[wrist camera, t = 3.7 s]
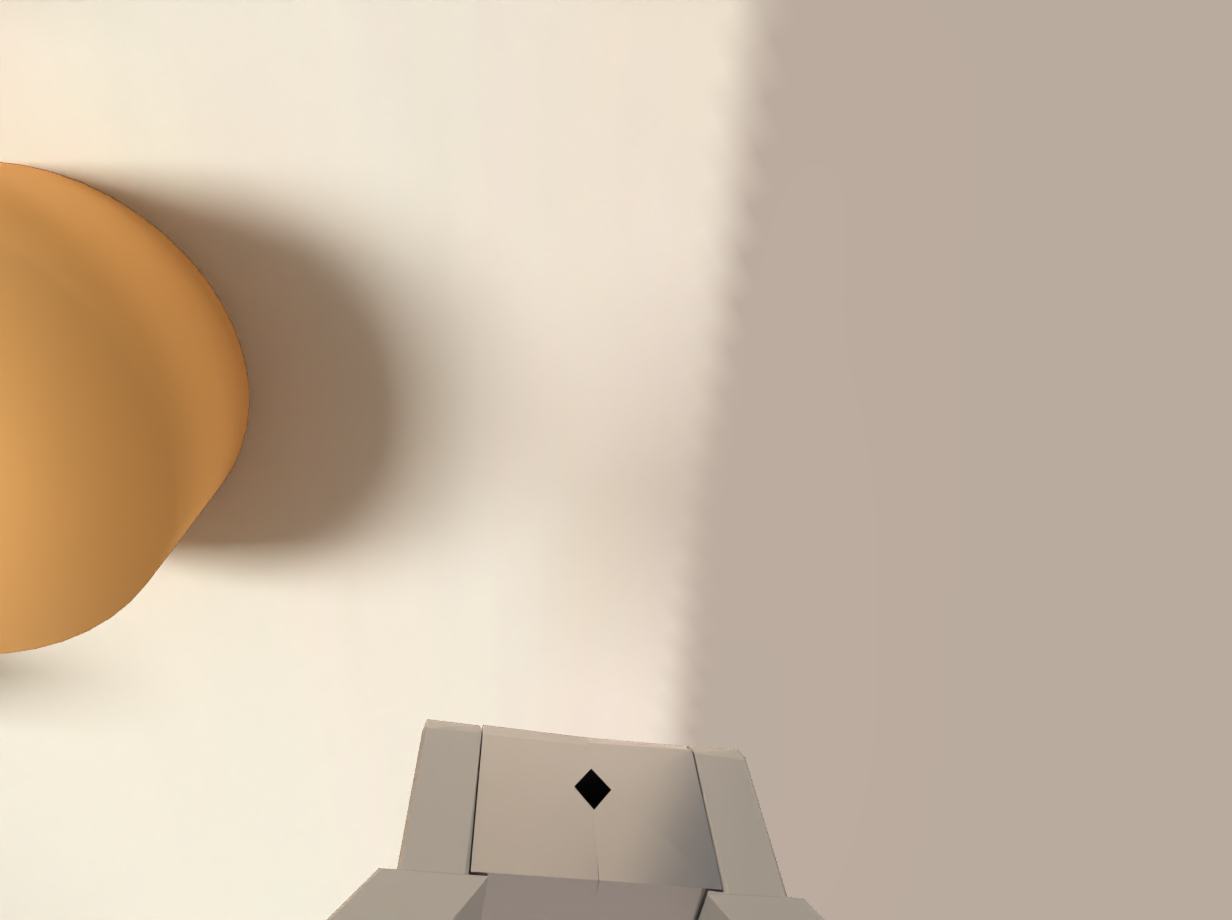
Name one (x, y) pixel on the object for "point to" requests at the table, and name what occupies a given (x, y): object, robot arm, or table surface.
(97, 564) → the orange rounded dome
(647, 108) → the table surface
